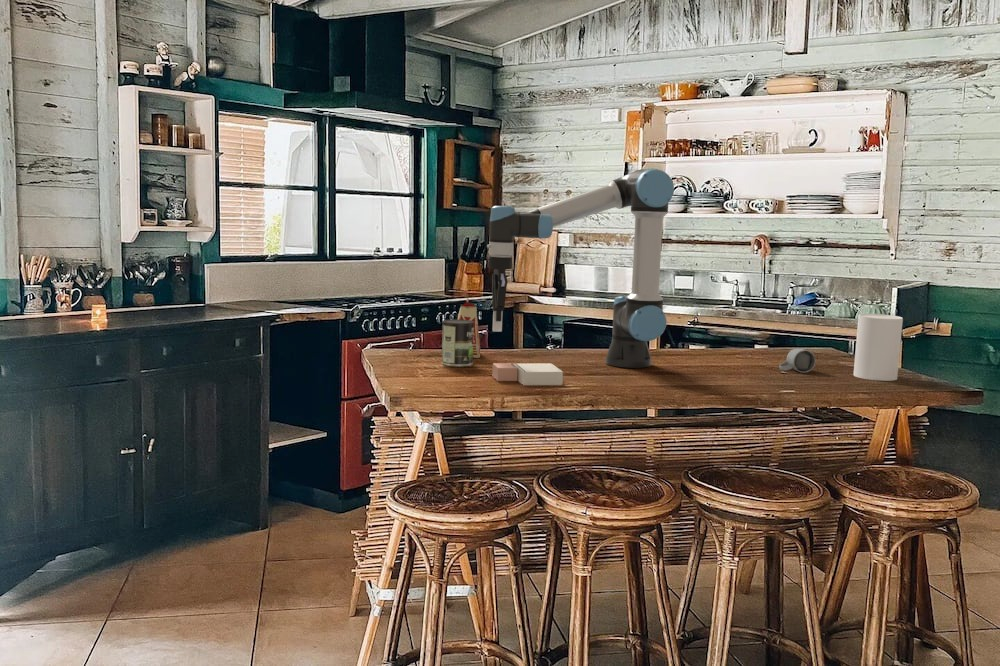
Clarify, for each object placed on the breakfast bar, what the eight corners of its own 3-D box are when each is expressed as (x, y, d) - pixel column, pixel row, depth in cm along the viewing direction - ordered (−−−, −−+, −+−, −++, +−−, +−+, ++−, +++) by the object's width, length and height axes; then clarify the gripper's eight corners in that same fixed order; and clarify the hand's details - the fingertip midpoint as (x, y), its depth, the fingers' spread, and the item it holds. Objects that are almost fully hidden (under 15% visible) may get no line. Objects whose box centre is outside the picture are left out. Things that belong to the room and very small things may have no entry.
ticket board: (550, 376, 305) (551, 362, 305) (562, 385, 292) (562, 371, 291) (513, 376, 303) (513, 362, 302) (522, 385, 289) (523, 371, 289)
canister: (844, 373, 327) (849, 314, 324) (875, 372, 332) (881, 313, 329) (874, 381, 314) (880, 319, 312) (906, 379, 320) (912, 318, 317)
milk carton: (479, 357, 335) (481, 299, 332) (452, 356, 335) (453, 298, 332) (480, 353, 344) (482, 296, 341) (454, 352, 344) (455, 295, 341)
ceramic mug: (804, 368, 334) (806, 346, 333) (815, 373, 326) (816, 350, 325) (775, 368, 333) (776, 346, 332) (784, 373, 325) (785, 350, 324)
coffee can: (475, 362, 326) (477, 320, 324) (468, 367, 316) (469, 324, 314) (445, 360, 328) (446, 318, 326) (437, 365, 318) (438, 322, 316)
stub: (511, 376, 303) (511, 362, 302) (516, 381, 295) (517, 367, 295) (492, 376, 302) (492, 362, 301) (497, 381, 294) (497, 367, 293)
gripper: (484, 254, 310) (481, 328, 314) (492, 257, 298) (489, 334, 301) (508, 254, 312) (504, 328, 315) (516, 257, 299) (513, 334, 303)
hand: (497, 331), depth 308 cm, fingers closed
